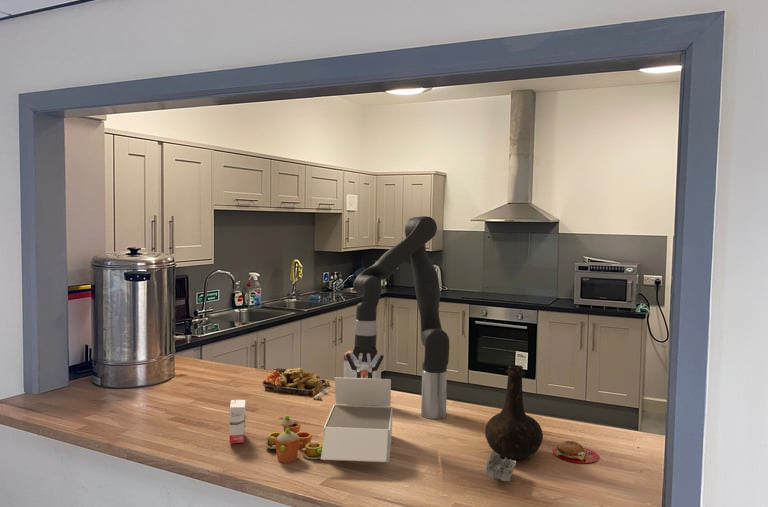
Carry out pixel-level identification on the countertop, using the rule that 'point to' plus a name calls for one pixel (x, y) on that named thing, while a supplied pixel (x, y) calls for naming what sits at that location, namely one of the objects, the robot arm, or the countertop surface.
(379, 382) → the flap
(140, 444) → the countertop surface
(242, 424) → the ink box
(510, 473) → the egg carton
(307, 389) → the food tray
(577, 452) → the hamburger
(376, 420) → the carton
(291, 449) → the toy tea set
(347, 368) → the cracker box
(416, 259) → the robot arm
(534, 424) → the glass bottle
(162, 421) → the countertop surface
